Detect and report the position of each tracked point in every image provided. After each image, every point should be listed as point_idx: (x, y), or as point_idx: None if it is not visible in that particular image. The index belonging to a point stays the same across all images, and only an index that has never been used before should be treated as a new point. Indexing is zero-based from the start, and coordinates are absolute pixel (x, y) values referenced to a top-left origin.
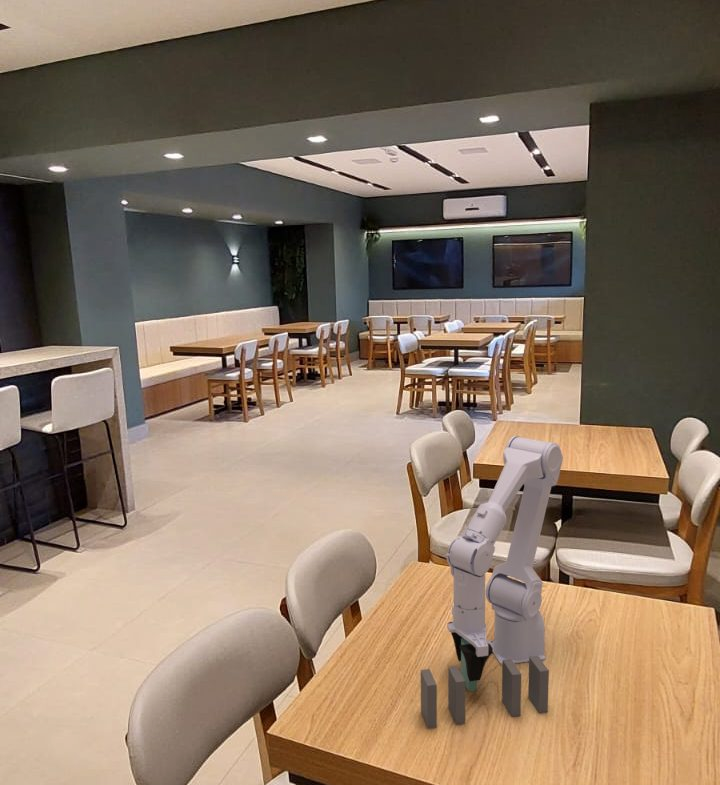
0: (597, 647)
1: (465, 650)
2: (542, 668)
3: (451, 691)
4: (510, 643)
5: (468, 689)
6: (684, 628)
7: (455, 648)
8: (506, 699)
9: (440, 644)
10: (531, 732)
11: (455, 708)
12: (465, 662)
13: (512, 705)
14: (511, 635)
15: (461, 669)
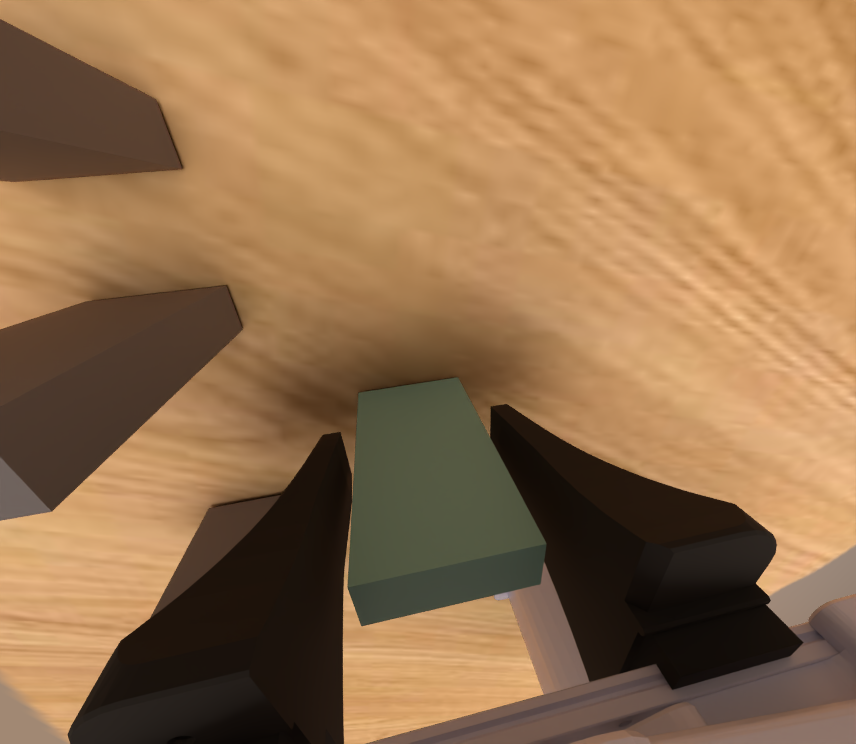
0: (513, 661)
1: (116, 725)
2: None
3: (56, 339)
4: (536, 594)
5: (360, 396)
6: None
7: (543, 430)
8: (249, 528)
9: (688, 327)
10: (143, 545)
11: (14, 328)
12: (414, 459)
13: (186, 553)
14: (553, 636)
15: (461, 398)
